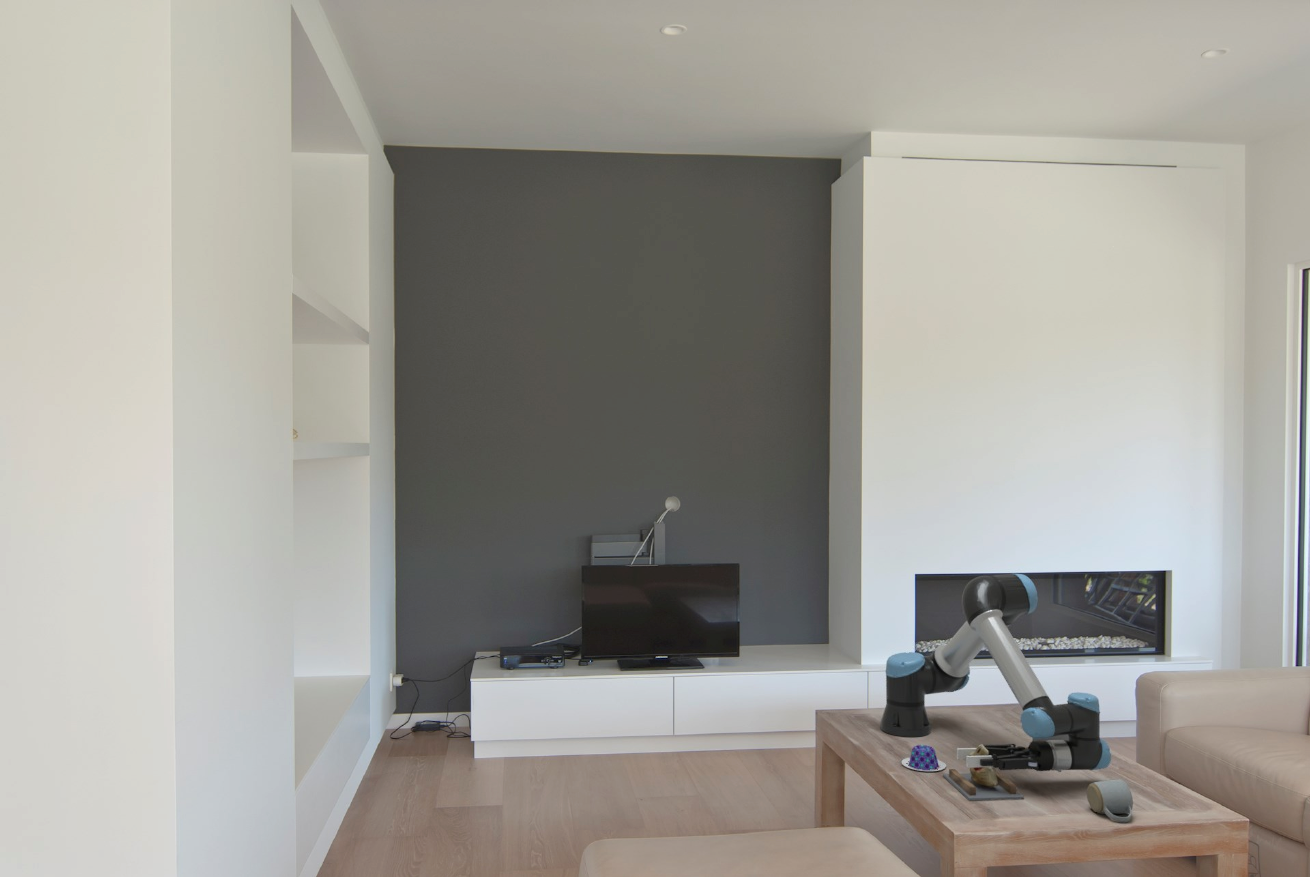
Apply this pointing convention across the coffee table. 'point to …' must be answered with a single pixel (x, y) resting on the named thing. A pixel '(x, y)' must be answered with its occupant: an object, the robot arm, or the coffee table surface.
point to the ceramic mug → (1111, 799)
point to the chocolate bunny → (983, 769)
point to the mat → (983, 790)
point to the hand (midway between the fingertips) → (962, 757)
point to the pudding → (923, 759)
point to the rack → (972, 789)
